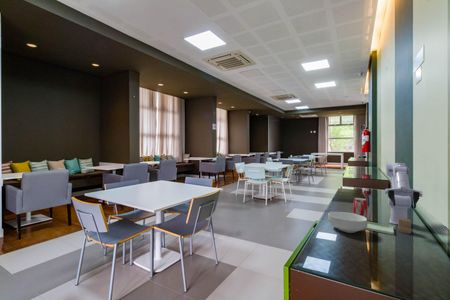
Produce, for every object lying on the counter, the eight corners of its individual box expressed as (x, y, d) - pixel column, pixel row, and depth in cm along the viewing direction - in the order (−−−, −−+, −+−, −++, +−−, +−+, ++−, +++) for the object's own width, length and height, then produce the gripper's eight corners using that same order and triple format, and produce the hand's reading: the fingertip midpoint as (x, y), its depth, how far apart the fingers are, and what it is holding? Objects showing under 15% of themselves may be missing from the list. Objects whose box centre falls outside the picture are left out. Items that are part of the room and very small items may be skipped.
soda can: (369, 222, 123) (369, 200, 123) (355, 220, 125) (356, 199, 125) (363, 218, 130) (364, 198, 130) (350, 217, 132) (351, 197, 132)
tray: (365, 223, 121) (365, 221, 121) (392, 228, 114) (392, 226, 114) (363, 229, 111) (364, 226, 111) (393, 235, 104) (393, 232, 104)
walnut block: (398, 229, 113) (398, 217, 113) (409, 231, 110) (410, 219, 110) (398, 231, 109) (399, 219, 109) (410, 234, 106) (411, 221, 106)
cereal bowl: (366, 228, 112) (367, 215, 112) (366, 239, 98) (367, 223, 98) (329, 222, 121) (330, 209, 121) (325, 230, 107) (325, 216, 107)
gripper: (385, 178, 117) (386, 198, 108) (421, 180, 108) (425, 202, 100) (384, 187, 120) (385, 207, 112) (420, 189, 112) (423, 211, 104)
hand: (404, 205), depth 106 cm, fingers open, 7 cm apart
